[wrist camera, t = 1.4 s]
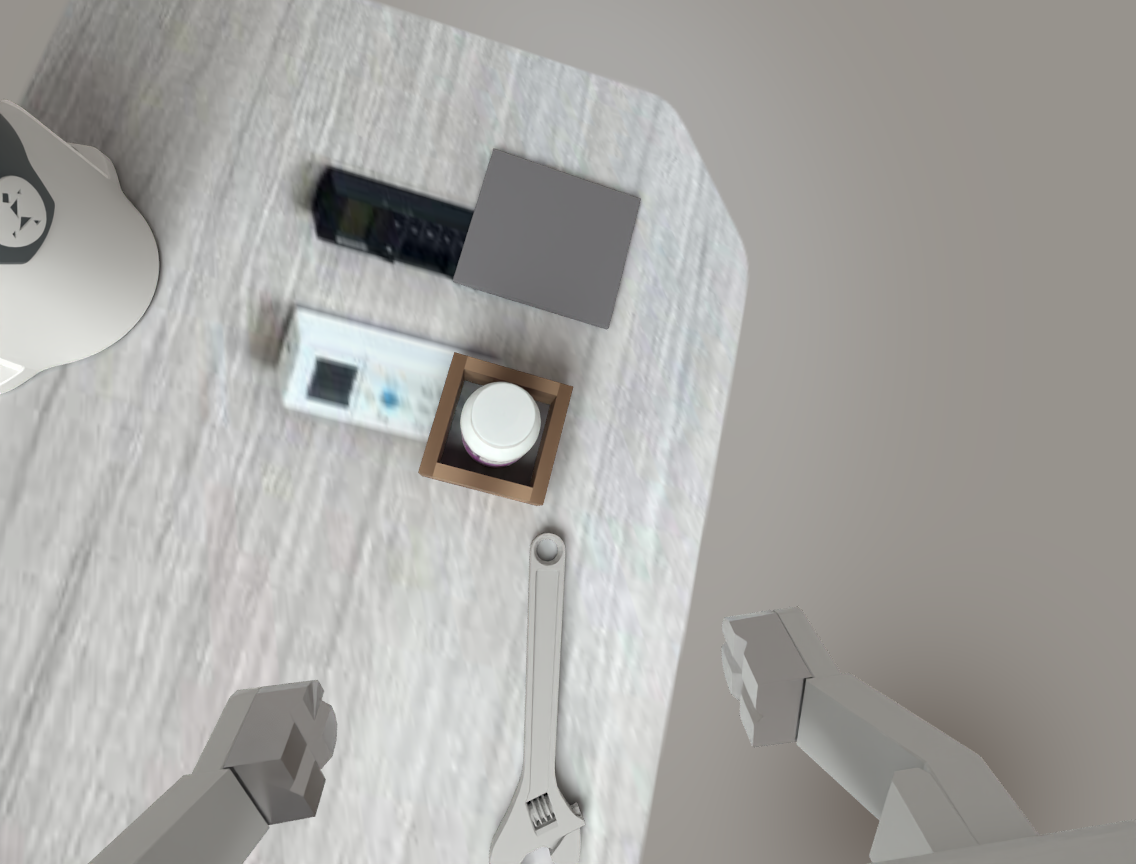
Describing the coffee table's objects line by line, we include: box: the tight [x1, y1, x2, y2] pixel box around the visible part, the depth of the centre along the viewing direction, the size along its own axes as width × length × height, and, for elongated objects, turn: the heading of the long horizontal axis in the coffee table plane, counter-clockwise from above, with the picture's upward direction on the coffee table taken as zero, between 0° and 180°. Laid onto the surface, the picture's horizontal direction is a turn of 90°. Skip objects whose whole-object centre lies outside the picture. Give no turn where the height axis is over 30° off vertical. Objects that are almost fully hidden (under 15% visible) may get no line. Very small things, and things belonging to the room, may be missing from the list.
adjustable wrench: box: [489, 533, 586, 864], centre depth 41 cm, size 25×6×2 cm, turn 173°
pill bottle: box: [460, 382, 541, 468], centre depth 39 cm, size 5×5×10 cm
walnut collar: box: [418, 352, 573, 506], centre depth 42 cm, size 9×9×4 cm
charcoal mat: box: [453, 149, 641, 329], centre depth 47 cm, size 13×12×1 cm
